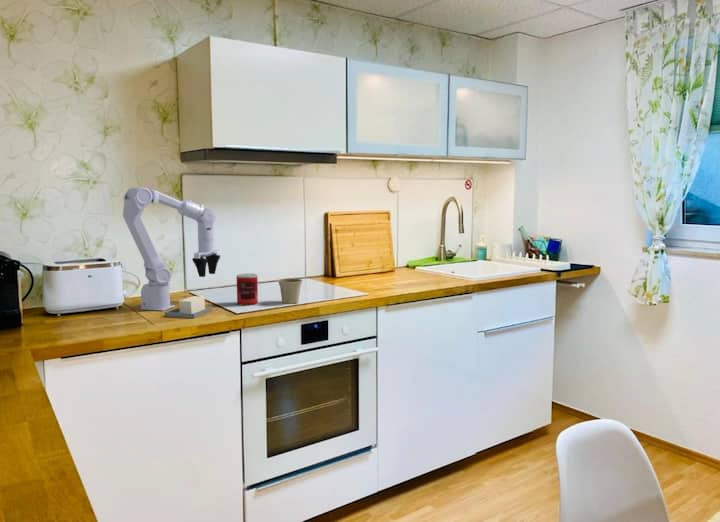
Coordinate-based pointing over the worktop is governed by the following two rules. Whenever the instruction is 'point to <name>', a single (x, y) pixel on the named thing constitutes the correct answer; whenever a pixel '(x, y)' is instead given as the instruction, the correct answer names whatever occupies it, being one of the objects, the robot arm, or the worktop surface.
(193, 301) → the cream block
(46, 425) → the worktop surface
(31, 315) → the worktop surface
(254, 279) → the canned food
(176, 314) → the tray
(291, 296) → the flower pot
